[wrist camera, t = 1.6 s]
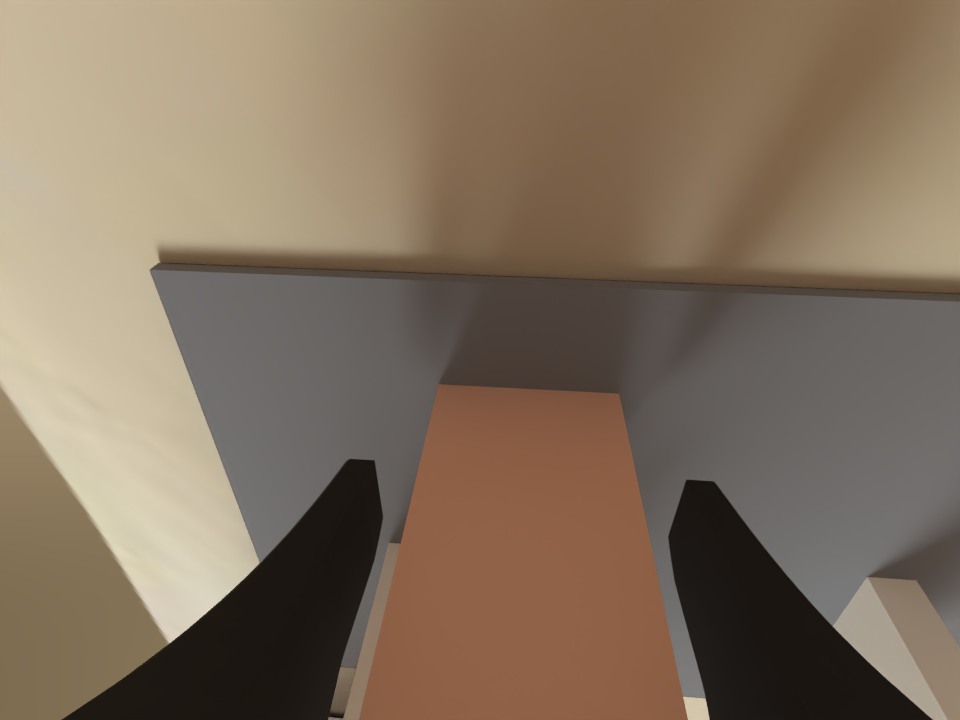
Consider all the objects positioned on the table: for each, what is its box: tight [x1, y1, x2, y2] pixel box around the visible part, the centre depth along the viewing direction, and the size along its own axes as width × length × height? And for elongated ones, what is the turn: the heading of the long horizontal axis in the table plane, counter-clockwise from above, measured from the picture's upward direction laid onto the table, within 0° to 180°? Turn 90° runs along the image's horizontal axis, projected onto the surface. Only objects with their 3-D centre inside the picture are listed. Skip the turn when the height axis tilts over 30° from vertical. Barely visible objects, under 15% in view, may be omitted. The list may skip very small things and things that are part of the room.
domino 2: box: [359, 384, 688, 720], centre depth 12 cm, size 2×5×9 cm, turn 90°
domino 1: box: [343, 543, 400, 720], centre depth 17 cm, size 2×5×9 cm, turn 0°
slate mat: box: [150, 263, 960, 698], centre depth 19 cm, size 34×20×1 cm, turn 90°
